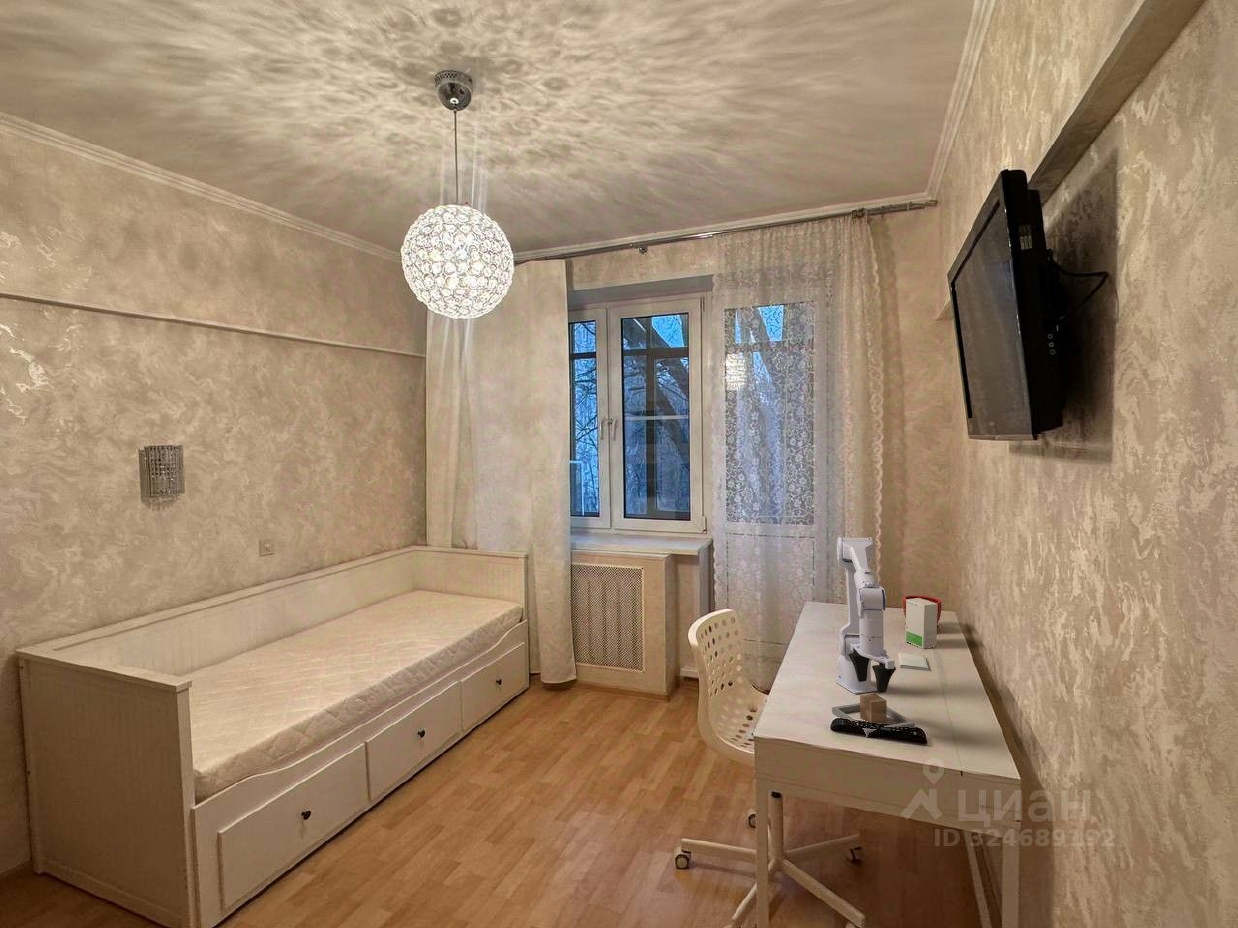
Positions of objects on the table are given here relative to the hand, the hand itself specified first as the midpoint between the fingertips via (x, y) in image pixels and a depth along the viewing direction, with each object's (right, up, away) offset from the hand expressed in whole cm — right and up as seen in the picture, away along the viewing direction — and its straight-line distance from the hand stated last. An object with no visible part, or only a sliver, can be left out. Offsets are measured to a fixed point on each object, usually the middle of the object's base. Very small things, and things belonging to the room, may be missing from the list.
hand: (871, 686), depth 155 cm
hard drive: (+30, -8, +40) cm, 51 cm away
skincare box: (+42, -7, +57) cm, 71 cm away
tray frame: (0, -9, 0) cm, 9 cm away
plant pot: (+50, -6, +74) cm, 90 cm away
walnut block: (+1, -9, 0) cm, 9 cm away
